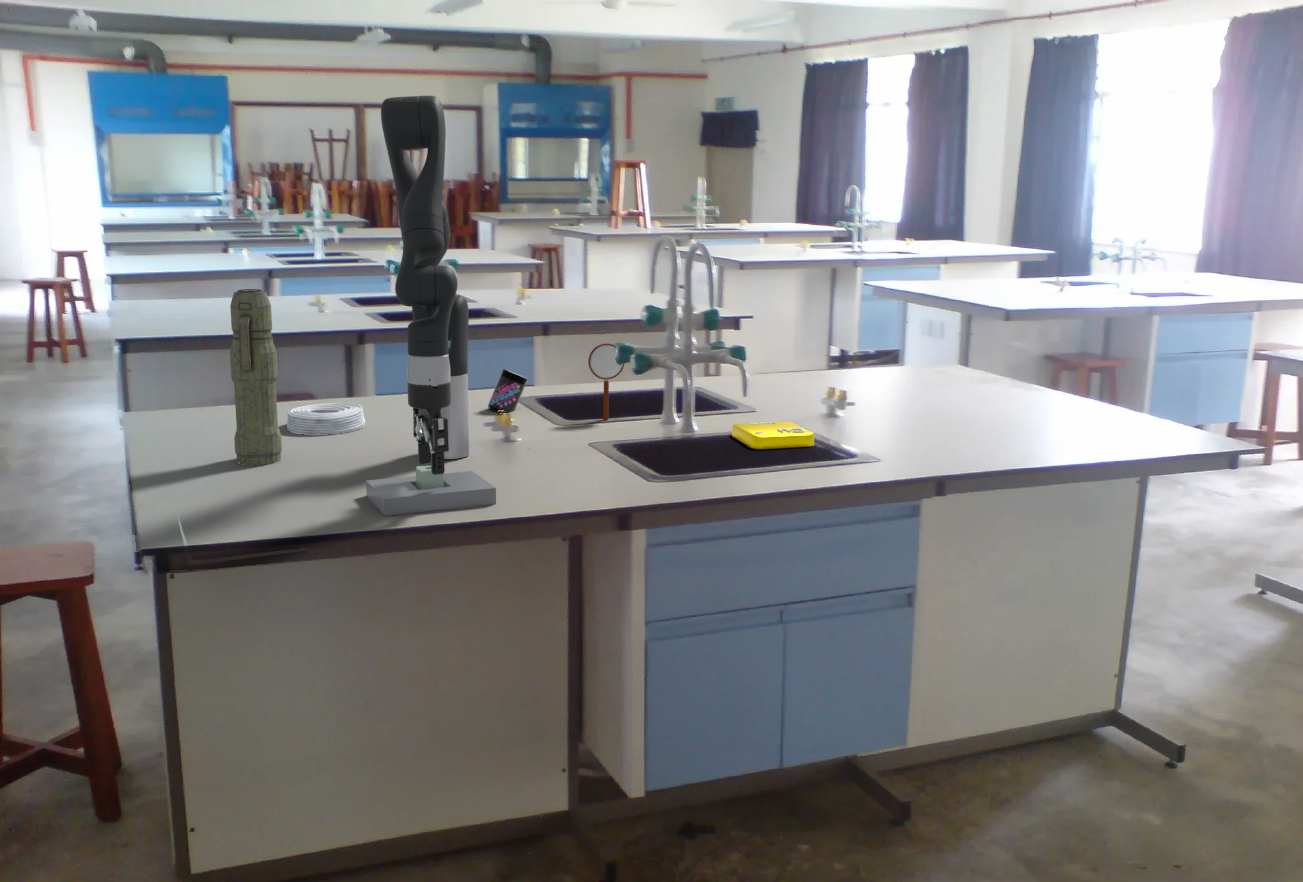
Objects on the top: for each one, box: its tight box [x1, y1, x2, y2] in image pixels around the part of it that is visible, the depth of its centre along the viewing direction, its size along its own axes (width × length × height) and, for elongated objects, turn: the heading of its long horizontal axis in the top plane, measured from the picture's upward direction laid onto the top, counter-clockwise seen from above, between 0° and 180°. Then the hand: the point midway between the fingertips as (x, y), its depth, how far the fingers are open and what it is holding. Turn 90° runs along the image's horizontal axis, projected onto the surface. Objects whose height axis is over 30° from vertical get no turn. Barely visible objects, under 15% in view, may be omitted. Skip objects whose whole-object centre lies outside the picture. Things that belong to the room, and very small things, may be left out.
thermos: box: [229, 288, 283, 467], centre depth 233 cm, size 9×12×35 cm
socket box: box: [365, 470, 497, 516], centre depth 211 cm, size 14×20×3 cm
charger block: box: [415, 464, 445, 490], centre depth 211 cm, size 4×4×6 cm
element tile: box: [731, 421, 815, 450], centre depth 262 cm, size 15×15×5 cm
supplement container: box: [487, 368, 529, 413], centre depth 289 cm, size 7×7×10 cm
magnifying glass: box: [588, 342, 625, 421], centre depth 279 cm, size 9×2×20 cm, turn 101°
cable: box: [286, 402, 366, 436], centre depth 267 cm, size 18×18×6 cm
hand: (431, 468), depth 210 cm, fingers open, 8 cm apart
